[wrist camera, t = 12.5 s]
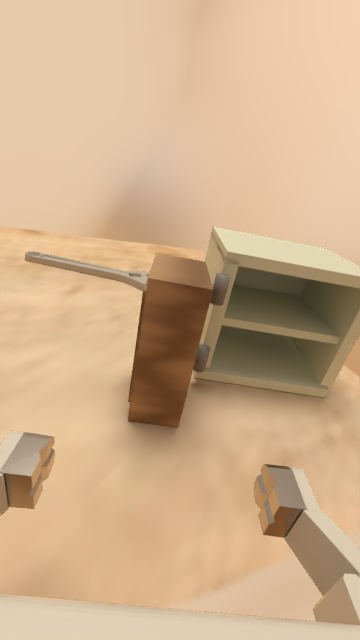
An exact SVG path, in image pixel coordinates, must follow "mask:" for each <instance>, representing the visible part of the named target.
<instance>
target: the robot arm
mask: <svg viewBox="0 0 360 640" xmlns="http://www.w3.org/2000/svg"><path fill="white" fill-rule="evenodd" d="M53 445H54V437H52V436H46V435H40V434H33V433H27V432H20V431H13V430H12V431H10V432H9V433H8V434H7V435H6V437H5V438H4V440H3V441H2V443H1V444H0V516H1V515H2V514H3V513H4V512H5V511H6V510H7V509H8V507H17V508H29V509H34V508H35V506H36V503H37V501H38V499H39V497H40V494H41V492H42V490H43V489H42V482H43V481H44V480H46V479H47V478H48V476H49V474H50V472H51V469H52V466H53V462H54V456H55V451H54V450H53V449H52V447H53ZM254 497H255V502H256V504H257V505H258V506H259V508H260V509H261V511H260V513H259V519H260V524H261V528H262V532H263V535H269V536H276V537H283V538H285V540H286V542H287V543H288V545H289V546H290V548H291V549H292V551H293V552H294V554H295V555H296V557H297V558H298V560H299V561H300V563H301V564H302V565H303V567H304V568H305V570H306V571H307V573H308V574H309V576H310V577H311V579H312V580H313V582H314V583H315V585H316V586H317V587H318V589H319V591H320V592H321V594H322V595H323V597H322V599H320V601H319V602H318V603H317V604H316V605H315V607H314V608H313V611H314V615H315V618H316V621H307V620H295V619H284V618H273V617H261V616H250V615H239V614H227V613H216V612H205V611H204V612H203V611H193V610H182V609H171V608H159V607H148V606H137V605H125V604H114V603H102V602H91V601H80V600H68V599H57V598H46V597H34V596H23V595H11V594H0V640H360V549H359V548H358V547H357V546H356V545H355V543H353V541H352V540H351V539H350V538H349V537H348V536H347V535H346V534H345V533H344V532H343V531H342V530H341V529H340V528H339V527H338V526H337V525H336V524H335V523H334V522H333V520H332V519H331V518H330V517H329V516H328V515H327V514H326V513H324V512H321V510H320V508H319V506H318V503H317V501H316V498H315V496H314V494H313V491H312V489H311V486H310V484H309V482H308V479H307V477H306V475H305V472H304V471H303V470H302V469H299V468H291V467H286V466H277V465H268V464H264V465H263V466H262V468H261V475H259V476H258V477H257V478H256V480H255V483H254Z"/></svg>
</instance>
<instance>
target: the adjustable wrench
mask: <svg viewBox="0 0 360 640" xmlns="http://www.w3.org/2000/svg"><path fill="white" fill-rule="evenodd" d="M25 259H26V261H29V262H34V263H38V264H43V265H48V266H52V267H57V268H62V269H66V270H71V271H76V272H80V273H85V274H89V275H94V276H99V277H103V278H108V279H113V280H117V281H121V282H124V283H126V284H129V285H131V286H133V287H136V288H138V289H140V290H142V291H143V290H144V287H145V284H146V281H147V278H148V275H149V272H145V271H138V272H133V271H122V270H117V269H113V268H108V267H104V266H99V265H94V264H90V263H85V262H81V261H76V260H71V259H67V258H62V257H58V256H53V255H48V254H44V253H39V252H26V253H25Z"/></svg>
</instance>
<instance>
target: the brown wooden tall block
mask: <svg viewBox="0 0 360 640" xmlns="http://www.w3.org/2000/svg"><path fill="white" fill-rule="evenodd" d="M212 293H213V287H212V283H211V279H210V275H209V272H208V268H207V264H206V262H202V261H197V260H191V259H186V258H181V257H175V256H170V255H165V254H159V253H156V256H155V259H154V262H153V265H152V268H151V270H150V272H149V275H148V278H147V281H146V284H145V287H144V290H143V296H142V304H141V311H140V318H139V326H138V333H137V340H136V348H135V355H134V363H133V370H132V377H131V385H130V392H129V400H128V402H131V404H130V411H129V418H128V421H133V422H140V423H148V424H155V425H162V426H169V427H176V428H178V426H179V422H180V418H181V414H182V410H183V406H184V402H185V398H186V394H187V390H188V386H189V383H190V379H191V375H192V371H193V367H194V363H195V359H196V355H197V351H198V347H199V343H200V340H201V336H202V332H203V328H204V324H205V320H206V316H207V312H208V308H209V304H210V300H211V297H212Z"/></svg>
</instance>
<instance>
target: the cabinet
mask: <svg viewBox="0 0 360 640" xmlns="http://www.w3.org/2000/svg"><path fill="white" fill-rule="evenodd" d="M205 262H206V264H207V268H208V272H209V275H210V279H211V283H212V287H213V293H212V297H211V300H210V304H209V308H208V312H207V316H206V320H205V324H204V328H203V332H202V336H201V340H200V343H199V347H198V351H197V355H196V359H195V363H194V367H193V370H194V378H198V379H205V380H211V381H218V382H225V383H231V384H238V385H244V386H251V387H257V388H264V389H271V390H277V391H284V392H290V393H297V394H304V395H310V396H317V397H323V398H325V397H326V395H327V393H328V392H329V390H328V388H327V387H326V386H329V387H331V386H332V384H333V383H334V381H335V379H336V377H337V375H338V374H339V372H340V370H341V368H342V366H343V364H344V362H345V361H346V359H347V357H348V355H349V354H350V352H351V350H352V348H353V346H354V344H355V343H356V341H357V339H358V337H359V335H360V266H358V265H356V264H354V263H352V262H350V261H348V260H346V259H344V258H342V257H341V256H339V255H337V254H335V253H333V252H331V251H329V250H327V249H325V248H320V247H315V246H310V245H305V244H300V243H295V242H290V241H285V240H280V239H275V238H270V237H265V236H259V235H254V234H249V233H244V232H239V231H234V230H229V229H224V228H219V227H213V229H212V233H211V237H210V242H209V246H208V250H207V255H206V259H205Z"/></svg>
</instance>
